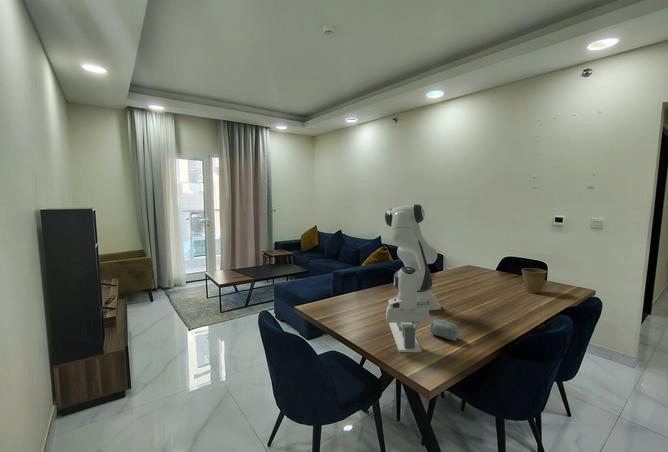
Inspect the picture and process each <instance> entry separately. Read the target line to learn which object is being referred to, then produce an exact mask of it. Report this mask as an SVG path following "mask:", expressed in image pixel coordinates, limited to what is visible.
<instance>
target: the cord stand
mask: <svg viewBox="0 0 668 452" xmlns="http://www.w3.org/2000/svg"><path fill="white" fill-rule="evenodd" d="M388 325H389V328H390V330H391V332H392V333H391V334H392V336H393V338H394V342H395V344H396V347H397V349H398V352H399V353H422V348H421V347H420V344H419V343H418V340H417V339H416V331H415V330H414V328H404V338H403V337H402V335H401V331H399V329H398V325H397V323H396V322H388ZM399 326H401V322H400V324H399Z"/></svg>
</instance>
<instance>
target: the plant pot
mask: <svg viewBox="0 0 668 452" xmlns="http://www.w3.org/2000/svg"><path fill="white" fill-rule="evenodd" d="M521 275H522V279H523V284H524V287H525V289H526V292H527V293H529V294H534V293H538V294H540V292H541V290H542V288H543V287H544V286H543V285H544V283H545V279H546V276H547V270H545V269H541V268H534V267H533V268H532V267H529V268H528V267H526V268H525V267H524V268H521Z"/></svg>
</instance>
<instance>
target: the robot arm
mask: <svg viewBox="0 0 668 452" xmlns="http://www.w3.org/2000/svg"><path fill="white" fill-rule="evenodd" d="M384 212H385V213H384V221H385V223H386V226H388V227H390V228H391V230H390V233H391V239H392V242H393V244H394V245H395V246H397V247H398V248H397V250H396V254H397V257H398V258H399V259H400V261H401V262H402V263H403V267H400V269H399V270H397V271H396V272H394V274H393V287H395V289H396V290H398V293H397V296H395V297H393V298H392V297H391V298H389V299H388V301H387V303H388V305H387V306H386V310H385V321H386V322H387V323H397V325H398V329H399V331H402V326H399V324H400V322H412V323H415V324H413V326H414V330H415V332H416V331H417V328H418V326H419V323H429V322H430V318H431V317H430V311H436V310H442V306H441V304H440V303H439V302H438V299H437V297H436V295H435V294H434V293H432V292H431V291H430V290H431V288H432V287H433V278H432V277H433V276H432V273H431V272H430V267H429V266H428V265H430V264H431V265H432V264H434V263H435V262H436V261H437V259H438V253H437V250H436V249H435V248H434V247H433V246H431V245H430V244H429V243H428V242H427V241H426V239H425V238H424V236H423V234H422V230H421V226H420V223H422V222H423V221H424V219H425V214H426V213H425V210H424V208H423V206H422V205H421V204H418V203H417V204H416V203H415V204H411V205H410V204H408V205H406V204H405V205H402V206H397V207H394V208H388V209H387V210H386V211H384Z"/></svg>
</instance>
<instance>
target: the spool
mask: <svg viewBox="0 0 668 452" xmlns="http://www.w3.org/2000/svg"><path fill="white" fill-rule="evenodd" d="M459 332H460V330H459V327H458V325H456V324H455V323H452V322H449V321H446V320H443V319H433V321H432V322H431V324H430V333H431V334H432V335H434V336H437V337H439V338H443V339H446V340H448V341H451V342H453V341H454V342H455V341H456V340H457V338H458V336H459Z"/></svg>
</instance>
